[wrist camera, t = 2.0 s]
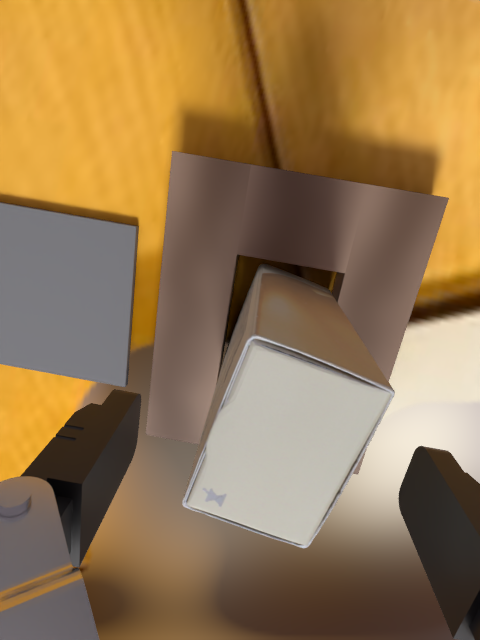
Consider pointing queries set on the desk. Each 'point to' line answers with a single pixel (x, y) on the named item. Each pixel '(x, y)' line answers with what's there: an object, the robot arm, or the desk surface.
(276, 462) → the skincare box
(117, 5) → the desk surface
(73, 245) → the mat
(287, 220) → the puzzle board
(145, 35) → the desk surface
